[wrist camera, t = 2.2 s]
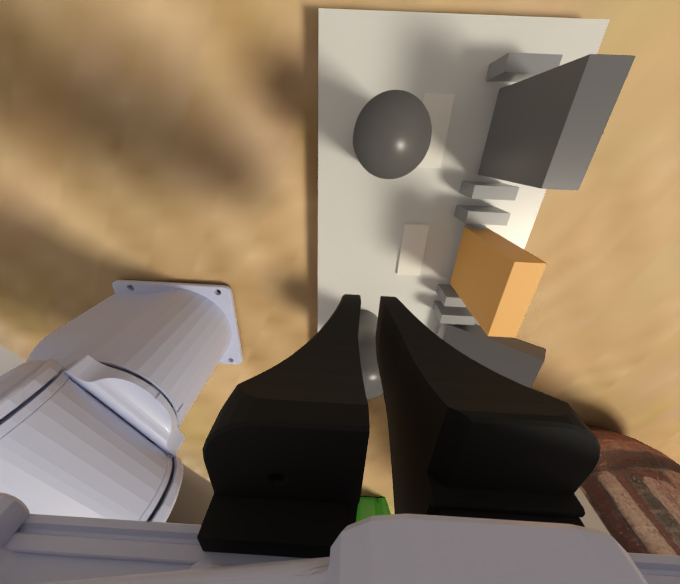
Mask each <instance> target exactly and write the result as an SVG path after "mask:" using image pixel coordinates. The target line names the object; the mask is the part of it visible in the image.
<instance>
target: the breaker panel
mask: <svg viewBox="0 0 680 584" xmlns="http://www.w3.org/2000/svg"><path fill="white" fill-rule="evenodd" d="M608 23H609V20H604V19H579V18H554V17H529V16H504V15H479V14H453V13H428V12H403V11H378V10H353V9H328V8H319V35H318V332H319V330H320V329H321V328H322V327H323V326H324V325H325V323H326V322H327V321H328V320H329V318H330V317H331V316H332V314H333V313H334V311H335V310H336V308H337V306H338V305H339V303H340V301H341V298H342V296H343V295H344V294H353V295H360V297H361V310H360V321H359V332H358V342H359V353H360V362H361V369H362V376H363V382H364V388H365V393H366V398H367V400H368V399H373V398H376V397H378V396H380V395H382V394H383V389H382V384H381V379H380V373H379V368H378V363H377V356H376V340H375V336H376V328H377V320H378V312H379V304H380V296H391V297H397V298H398V299H399V300H400V301H401V302H402V303H403V304H404V305H405V307H406V308H407V309H408V310H409V311H410V312H411V313H412V314H413V315H415V316H416V317H417V318H418V319H419V320H420V321H421V322H422V323H423V324H424V325H425V326H426V327H428V328H429V329H430V330H431V331H432V332H434V333H435V334H436V335H437V334H438V330H439V326H440V323H444V324H462V325H474V324H477V325H479V323H478V322H477V321H476V319H475V318H474V316H473V315H472V314H471V312H470V311H469V309H468V308H467V307H466V305H465V304H464V303H463V301H462V300H461V298H460V297H459V296H458V294H457V293H456V291H455V290H454V289H453V287H452V286H451V284H450V281H451V277H452V273H453V269H454V265H455V261H456V257H457V253H458V249H459V246H460V242H461V238H462V234H463V230H464V226H465V225H466V224H482V225H485V226H486V227H487V228H489V229H490V230H492V231H494V232H495V233H497V234H499V235H500V236H502V237H504V238H505V239H507V240H509V241H510V242H512V243H514V244H515V245H517V246H519V247H520V248H522V249H524V248H525V245H526V243H527V240H528V237H529V235H530V232H531V229H532V227H533V224H534V221H535V219H536V216H537V213H538V211H539V208H540V205H541V203H542V200H543V197H544V194H545V192H546V189H541V188H536V187H532V186H527V185H522V184H518V183H513V182H509V181H504V180H500V179H495V178H486V177H479V176H478V171H479V167H480V163H481V159H482V155H483V152H484V148H485V144H486V140H487V136H488V132H489V128H490V124H491V120H492V116H493V112H494V108H495V105H496V101H497V97H498V93H499V89H501V87H503V86H509V85H512V84H514V83H517V82H519V81H522V80H525V79H527V78H530V77H532V76H535V75H537V74H540V73H543V72H545V71H548V70H550V69H553V68H555V67H558V66H561V65H563V64H566V63H568V62H571V61H574V60H576V59H579V58H581V57H584V56H586V55H589V54H597V52H598V50H599V47H600V44H601V42H602V39H603V36H604V34H605V31H606V28H607V25H608ZM479 326H480V325H479Z"/></svg>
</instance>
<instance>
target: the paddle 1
mask: <svg viewBox="0 0 680 584" xmlns="http://www.w3.org/2000/svg"><path fill="white" fill-rule="evenodd" d="M437 336H439V337H440V338H441V339H442V340H444V341H445V342H447V343H448V344H449V345H451V346H452V347H454V348H455V349H457V350H458V351H460V352H461V353H463V354H464V355H466V356H468V357H469V358H471V359H473V360H474V361H476V362H478V363H480V364H481V365H483V366H485V367H487V368H489V369H491V370H493V371H495V372H496V373H498V374H500V375H502V376H505V377H507V378H509V379H511V380H513V381H515V382H517V383H519V384H522V385H524V386H526V387H529V388H531V386H532V384H533V382H534V380H535V378H536V376H537V374H538V372H539V370H540V368H541V366H542V364H543V362H544V359H545V352H546V349H544V348H542V347H539V346H536V345H533V344H530V343H527V342H525V341H522V340H519V339H516V338H513V337H495V336H487V334H486V333H485V332H484V330H483V329H482V328H481V326H479V325H477V324H474V325H462V324H444V323H440V326H439V330H438V334H437Z"/></svg>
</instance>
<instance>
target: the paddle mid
mask: <svg viewBox="0 0 680 584" xmlns="http://www.w3.org/2000/svg"><path fill="white" fill-rule="evenodd" d="M546 265H547V263H546V262H544V261H542V260H541V259H539V258H537V257H536V256H534V255H532V254H530V253H529V252H527V251H525V250H524V249H522V248H520V247H519V246H517V245H515V244H514V243H512V242H510V241H509V240H507V239H505V238H504V237H502V236H500V235H499V234H497V233H495V232H494V231H492V230H490V229H489V228H487V227H486V226H485V225H482V224H466V225H465V226H464V230H463V234H462V238H461V242H460V246H459V249H458V253H457V257H456V261H455V265H454V269H453V273H452V277H451V281H450V284H451V286H452V287H453V289H454V290H455V291H456V293H457V294H458V296H459V297H460V298H461V300H462V301H463V303H464V304H465V305H466V307H467V308H468V309H469V311H470V312H471V314H472V315H473V316H474V318H475V319H476V321H477V322H478V323H479V325H480V326H481V328H482V329H483V330H484V332H485V333H486V334H487V336H495V337H513V338H516V336H517V333H518V331H519V329H520V326H521V324H522V322H523V319H524V317H525V315H526V312H527V310H528V308H529V305H530V303H531V301H532V298H533V296H534V293H535V291H536V289H537V286H538V284H539V282H540V279H541V277H542V275H543V272H544V270H545V268H546Z"/></svg>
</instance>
